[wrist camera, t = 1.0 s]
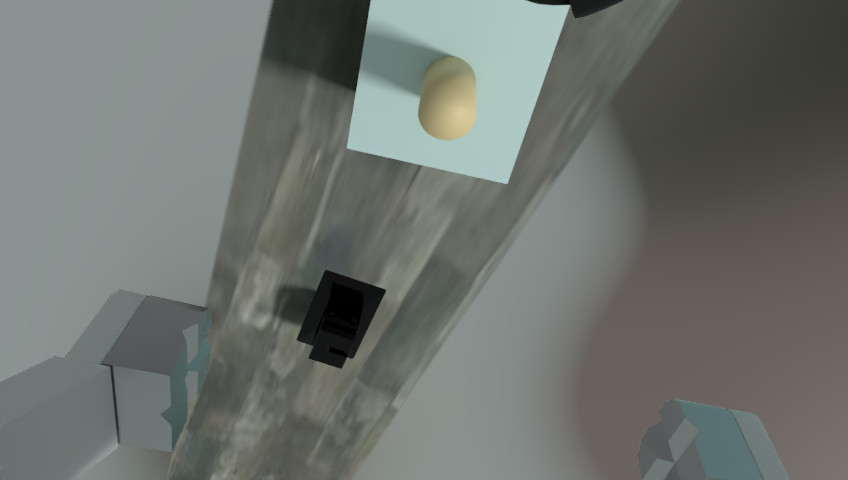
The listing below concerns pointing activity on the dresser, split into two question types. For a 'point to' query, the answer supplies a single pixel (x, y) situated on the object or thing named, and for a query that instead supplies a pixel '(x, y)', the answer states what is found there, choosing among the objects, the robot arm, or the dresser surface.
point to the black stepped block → (339, 318)
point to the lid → (452, 81)
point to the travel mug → (580, 5)
